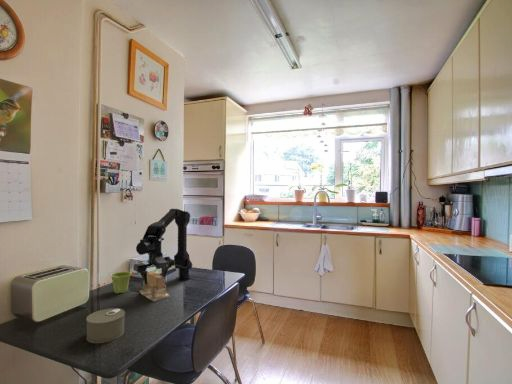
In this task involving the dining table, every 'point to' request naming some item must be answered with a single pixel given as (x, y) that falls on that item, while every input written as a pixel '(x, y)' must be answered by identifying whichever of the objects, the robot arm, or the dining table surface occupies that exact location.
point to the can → (105, 325)
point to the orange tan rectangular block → (155, 280)
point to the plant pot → (120, 281)
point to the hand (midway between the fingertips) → (154, 282)
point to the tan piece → (154, 292)
